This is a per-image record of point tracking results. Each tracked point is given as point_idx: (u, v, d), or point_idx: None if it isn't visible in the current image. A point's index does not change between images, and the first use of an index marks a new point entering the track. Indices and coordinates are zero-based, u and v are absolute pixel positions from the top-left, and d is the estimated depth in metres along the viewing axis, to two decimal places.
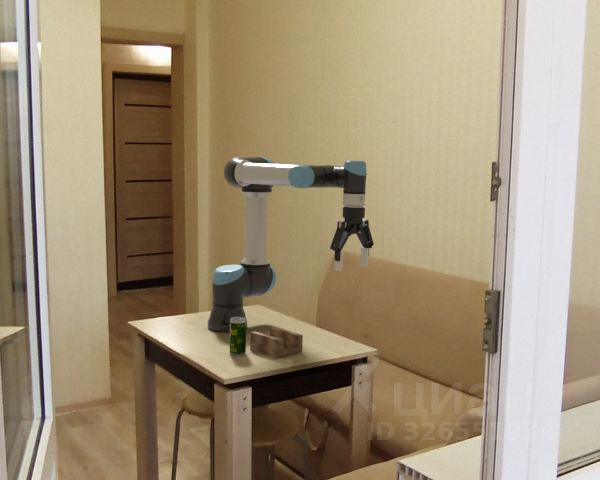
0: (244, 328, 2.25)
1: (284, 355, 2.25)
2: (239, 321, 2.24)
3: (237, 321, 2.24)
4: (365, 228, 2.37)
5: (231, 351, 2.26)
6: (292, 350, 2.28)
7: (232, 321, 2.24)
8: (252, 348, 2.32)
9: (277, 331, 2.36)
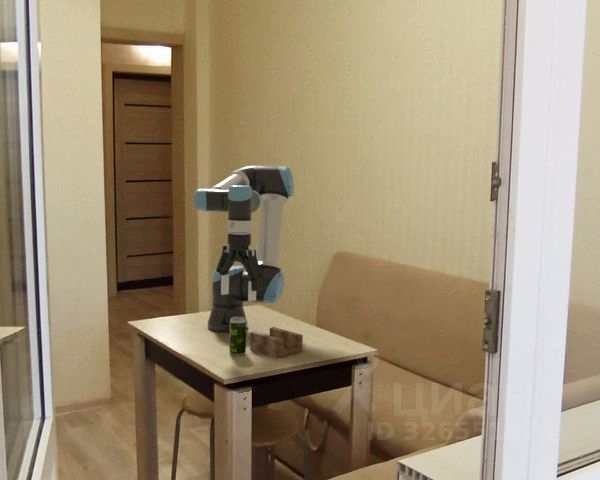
0: (244, 328, 2.25)
1: (284, 355, 2.25)
2: (239, 321, 2.24)
3: (237, 321, 2.24)
4: None
5: (231, 351, 2.26)
6: (292, 350, 2.28)
7: (232, 321, 2.24)
8: (252, 348, 2.32)
9: (277, 331, 2.36)
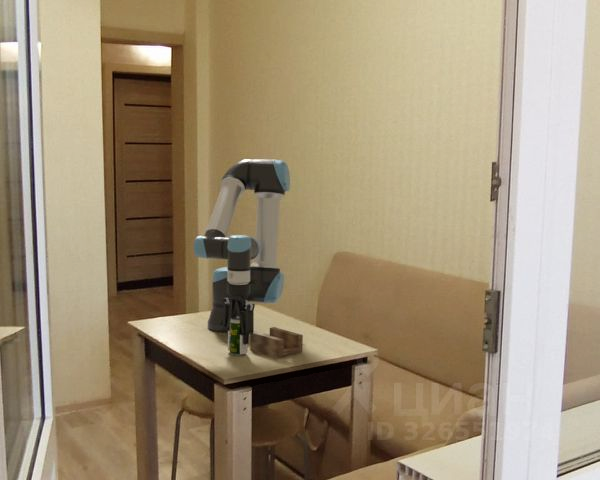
0: None
1: (284, 355, 2.25)
2: (239, 321, 2.24)
3: (237, 321, 2.24)
4: None
5: (231, 351, 2.26)
6: (292, 350, 2.28)
7: (232, 321, 2.24)
8: (252, 348, 2.32)
9: (277, 331, 2.36)
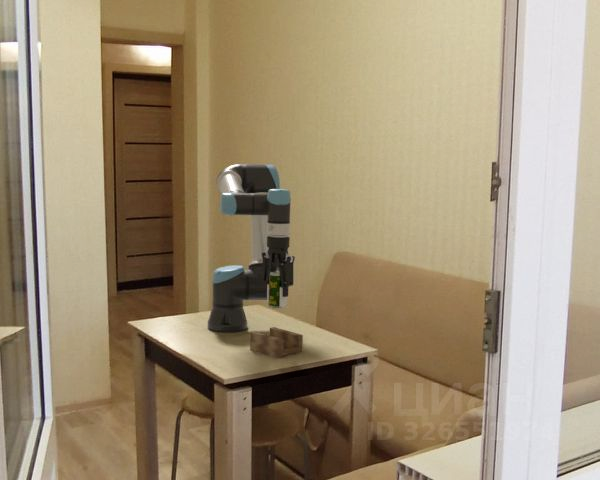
0: None
1: (284, 355, 2.25)
2: (279, 274, 2.26)
3: (277, 274, 2.26)
4: None
5: (271, 304, 2.28)
6: (292, 350, 2.28)
7: (272, 274, 2.27)
8: (252, 348, 2.32)
9: (277, 331, 2.36)
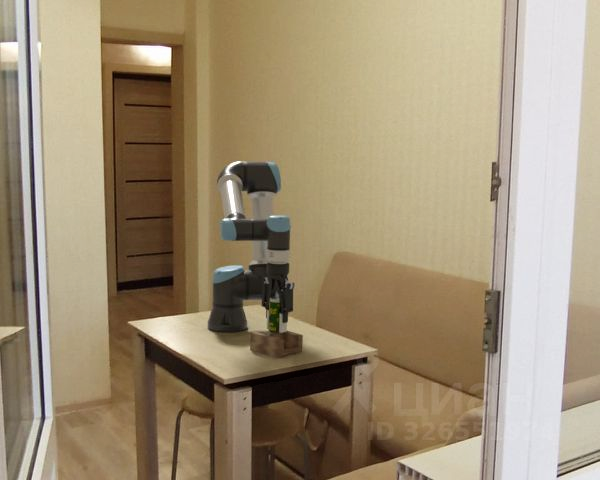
0: None
1: (284, 355, 2.25)
2: (278, 300, 2.28)
3: (277, 300, 2.27)
4: None
5: (270, 330, 2.29)
6: (292, 350, 2.28)
7: (271, 300, 2.28)
8: (252, 348, 2.32)
9: None
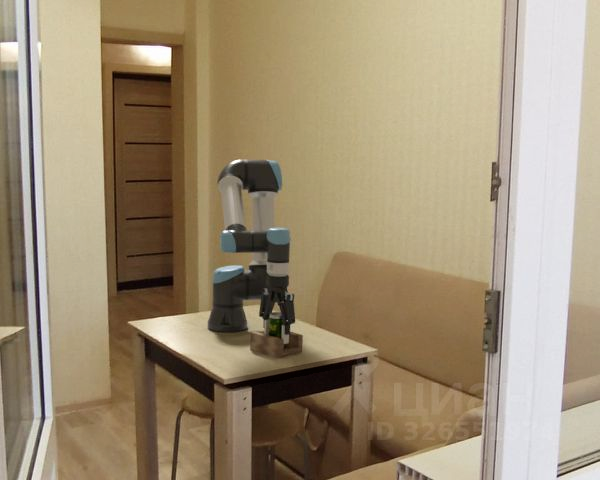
0: (283, 323, 2.30)
1: (284, 355, 2.25)
2: (278, 316, 2.28)
3: (276, 316, 2.28)
4: None
5: None
6: (292, 350, 2.28)
7: (271, 316, 2.29)
8: (252, 348, 2.32)
9: None
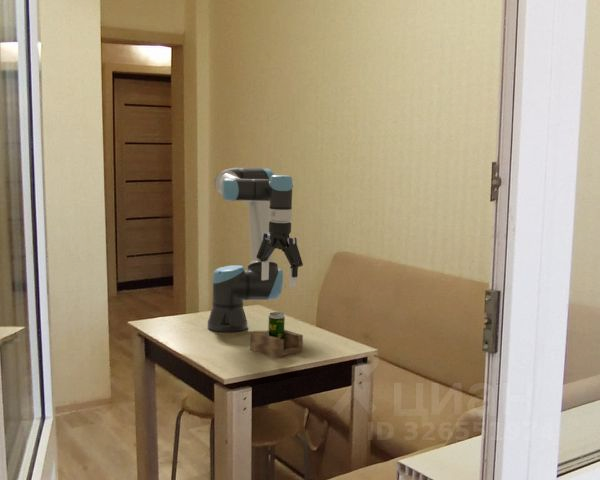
0: (283, 323, 2.30)
1: (284, 355, 2.25)
2: (278, 316, 2.28)
3: (276, 316, 2.28)
4: None
5: None
6: (292, 350, 2.28)
7: (271, 316, 2.29)
8: (252, 348, 2.32)
9: None
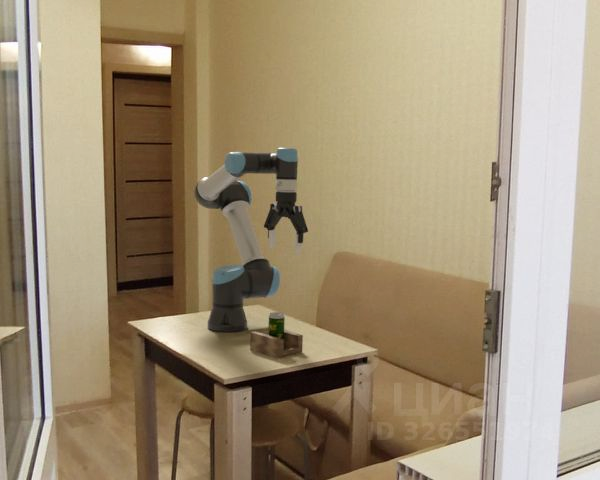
0: (283, 323, 2.30)
1: (284, 355, 2.25)
2: (278, 316, 2.28)
3: (276, 316, 2.28)
4: None
5: None
6: (292, 350, 2.28)
7: (271, 316, 2.29)
8: (252, 348, 2.32)
9: None
